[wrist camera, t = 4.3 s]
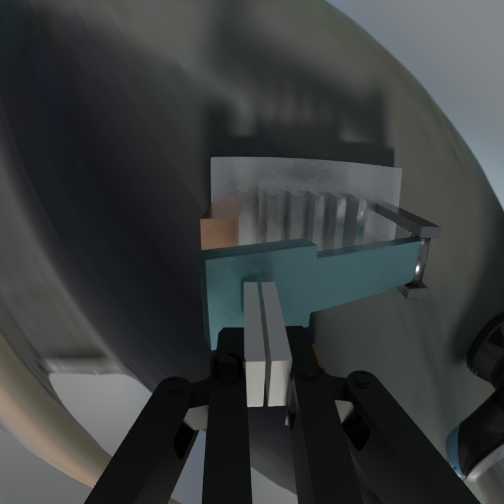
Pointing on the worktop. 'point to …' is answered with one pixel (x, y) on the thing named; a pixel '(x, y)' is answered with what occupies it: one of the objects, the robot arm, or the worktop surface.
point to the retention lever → (303, 276)
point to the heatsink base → (305, 174)
